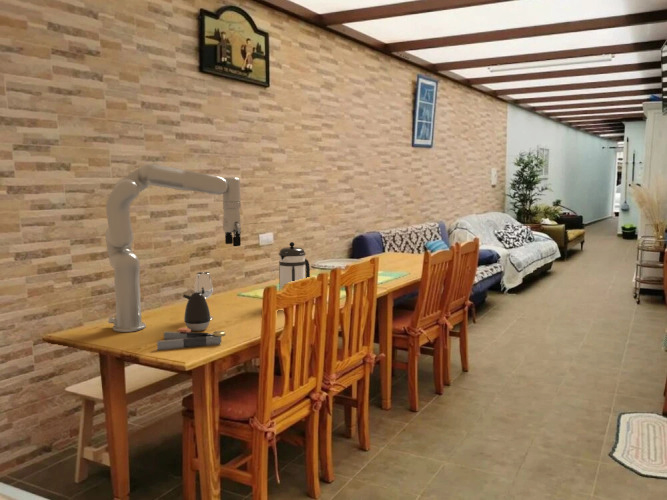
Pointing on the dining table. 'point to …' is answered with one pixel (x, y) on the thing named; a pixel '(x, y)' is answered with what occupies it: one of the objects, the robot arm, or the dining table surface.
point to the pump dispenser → (196, 312)
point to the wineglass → (204, 285)
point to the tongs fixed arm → (191, 335)
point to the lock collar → (184, 330)
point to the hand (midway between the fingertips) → (232, 244)
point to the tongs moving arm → (188, 342)
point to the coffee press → (292, 265)
